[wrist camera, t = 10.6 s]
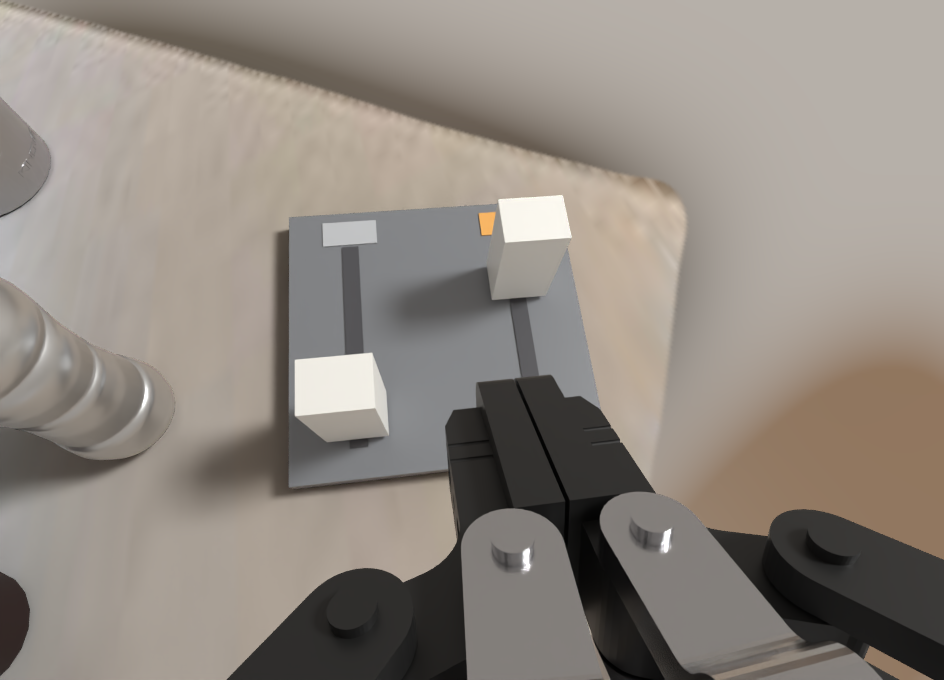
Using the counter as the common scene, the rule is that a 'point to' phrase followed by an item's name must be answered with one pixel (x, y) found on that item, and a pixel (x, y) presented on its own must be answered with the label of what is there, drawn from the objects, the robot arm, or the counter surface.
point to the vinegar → (12, 620)
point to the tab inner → (341, 397)
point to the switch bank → (418, 331)
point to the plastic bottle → (75, 386)
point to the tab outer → (526, 246)
